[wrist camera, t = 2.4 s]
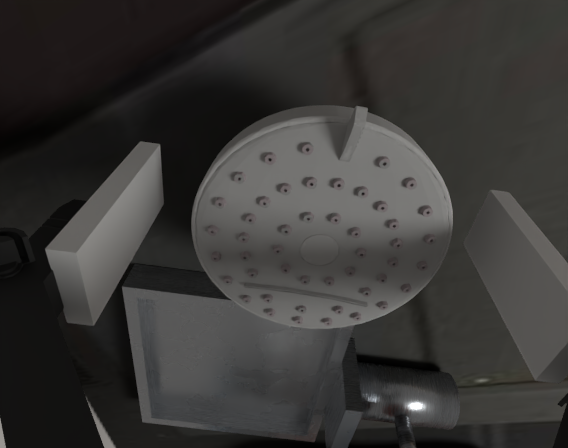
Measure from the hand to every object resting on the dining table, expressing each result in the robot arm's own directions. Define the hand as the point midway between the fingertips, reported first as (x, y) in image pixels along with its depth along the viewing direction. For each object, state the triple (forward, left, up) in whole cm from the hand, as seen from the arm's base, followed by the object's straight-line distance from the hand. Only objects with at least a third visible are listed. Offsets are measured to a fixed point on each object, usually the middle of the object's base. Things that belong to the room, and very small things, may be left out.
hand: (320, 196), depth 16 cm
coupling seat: (-16, -1, -4) cm, 16 cm away
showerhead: (0, 0, -4) cm, 4 cm away
